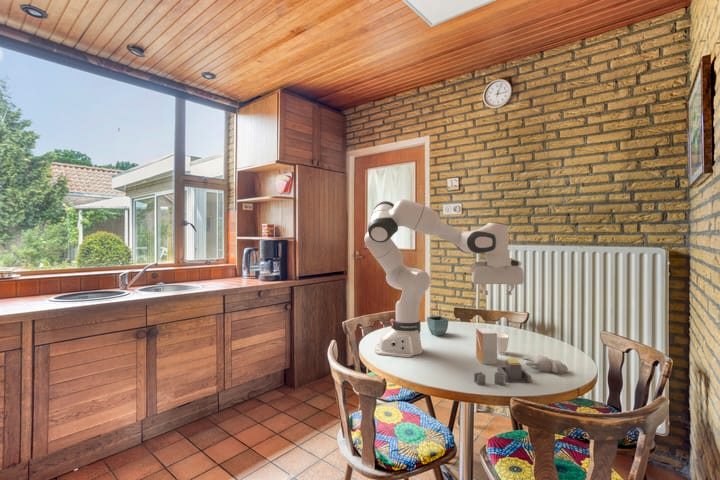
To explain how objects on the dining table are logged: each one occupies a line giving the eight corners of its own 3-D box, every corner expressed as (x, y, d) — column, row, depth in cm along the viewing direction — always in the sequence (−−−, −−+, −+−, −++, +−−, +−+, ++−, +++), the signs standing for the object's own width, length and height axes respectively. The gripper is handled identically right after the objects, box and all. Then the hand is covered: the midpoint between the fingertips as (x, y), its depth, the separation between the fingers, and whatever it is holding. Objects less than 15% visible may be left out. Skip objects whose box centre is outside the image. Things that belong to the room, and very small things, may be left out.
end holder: (505, 382, 125) (505, 375, 125) (497, 372, 134) (497, 366, 134) (530, 382, 124) (530, 376, 124) (521, 373, 133) (521, 366, 133)
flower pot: (426, 333, 190) (426, 317, 190) (440, 331, 192) (440, 315, 192) (434, 337, 181) (434, 320, 181) (449, 336, 184) (449, 319, 184)
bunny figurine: (570, 366, 129) (527, 358, 133) (569, 379, 130) (526, 371, 134) (563, 358, 138) (523, 350, 142) (561, 370, 139) (521, 362, 143)
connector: (510, 379, 127) (510, 362, 127) (505, 373, 132) (505, 358, 132) (521, 379, 126) (521, 363, 126) (516, 374, 131) (516, 358, 131)
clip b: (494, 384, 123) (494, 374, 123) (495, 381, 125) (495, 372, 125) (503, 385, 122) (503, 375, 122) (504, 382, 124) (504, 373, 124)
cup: (509, 356, 152) (509, 338, 152) (485, 353, 156) (485, 335, 156) (509, 351, 158) (509, 334, 158) (486, 348, 162) (486, 332, 162)
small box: (475, 357, 151) (475, 328, 151) (490, 357, 151) (490, 328, 151) (482, 364, 143) (482, 333, 143) (497, 364, 143) (497, 333, 143)
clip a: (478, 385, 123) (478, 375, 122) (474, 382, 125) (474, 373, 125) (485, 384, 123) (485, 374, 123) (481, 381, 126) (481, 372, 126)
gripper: (473, 262, 139) (473, 296, 139) (525, 262, 137) (525, 296, 137) (469, 261, 145) (469, 293, 145) (519, 261, 144) (519, 293, 144)
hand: (497, 294), depth 141 cm, fingers open, 8 cm apart
